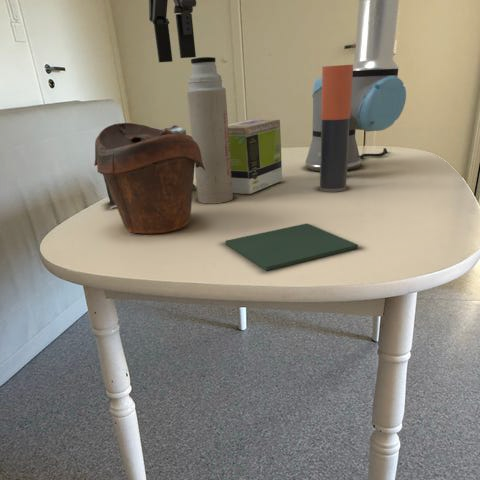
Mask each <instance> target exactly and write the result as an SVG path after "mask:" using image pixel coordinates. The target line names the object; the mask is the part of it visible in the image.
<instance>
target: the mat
mask: <svg viewBox="0 0 480 480" xmlns="http://www.w3.org/2000/svg"><path fill="white" fill-rule="evenodd" d="M225 245H226V246H228V247H229V248H231V249H232V250H234V251H235V252H238V253H239V254H240V255H242V256H243V257H245V258H246V259H248V260H249V261H251V262H252V263H254V264H255V265H256V266H258V267H259V268H261V269H263V270H264V271H266V272H267V271H271V270H272V271H273V270H276V269H280V268H283V267H289V266H291V265H292V266H293V265H296V264H299V263H300V264H301V263H304V262H308V261H312V260H316V259H320V258H324V257H328V256H332V255H336V254H340V253H345V252H348V251H353V250H357V249H358V247H359V245H358V244H357V243H355V242H353V241H350V240H349V239H346V238H342V237H341V236H338V235H336V234H333V233H331V232H329V231H327V230H324V229H322V228H319V227H316V226H315V225H312V224H310V223H301V224H298V225H293V226H288V227H283V228H278V229H275V230H269V231H265V232H259V233H255V234H250V235H245V236H242V237H237V238H231V239H226V240H225Z"/></svg>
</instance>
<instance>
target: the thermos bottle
mask: <svg viewBox="0 0 480 480" xmlns="http://www.w3.org/2000/svg"><path fill="white" fill-rule="evenodd" d="M190 64H192V66H191V67H192V68H191V69H192V74H191V76H189V78H188V86H189V89H188V90H187V91H186V98H187V106H188V117H189V124H190V134H191V135H190V136H191V137H192V138H193V140H194V141H195V142H196V143H197V144H198V146H199V148H200V152H201V158H202V162H203V166H204V168H205V170H206V171H205V170H204V169H203V168H202V167H198V168H197V167H196V163H195V168H194V175H195V183H196V192H197V201H198V202H199V203H203V204H220V203H222V204H223V203H227V202H229V201H231V200H233V199H234V193H233V191H232V176H231V161H230V147H229V132H228V124H229V120H228V119H229V118H228V105H227V103H228V102H227V89H226V87H223V79H222V75H221V74H219V73H218V71H217V65H216V57H211V56H202V57H193V58H191V59H190Z"/></svg>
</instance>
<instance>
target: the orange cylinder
mask: <svg viewBox="0 0 480 480" xmlns="http://www.w3.org/2000/svg"><path fill="white" fill-rule="evenodd" d="M321 68H322V69H321V71H322V73H321V77H322V104H321V119H322V120H341V119H349V118H350V113H351V95H352V76H353V65H352V64H341V65H325V66H322V67H321Z"/></svg>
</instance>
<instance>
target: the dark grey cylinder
mask: <svg viewBox="0 0 480 480" xmlns="http://www.w3.org/2000/svg"><path fill="white" fill-rule="evenodd" d="M349 123H350V118H349V119H341V120H322V123H321V162H320V171H319V188H318V189H319V190H320V192H326V193H334V192H336V193H337V192H343V191H346V190H347V188H348V187H347V179H348V170H347V161H348V142H349Z"/></svg>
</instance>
